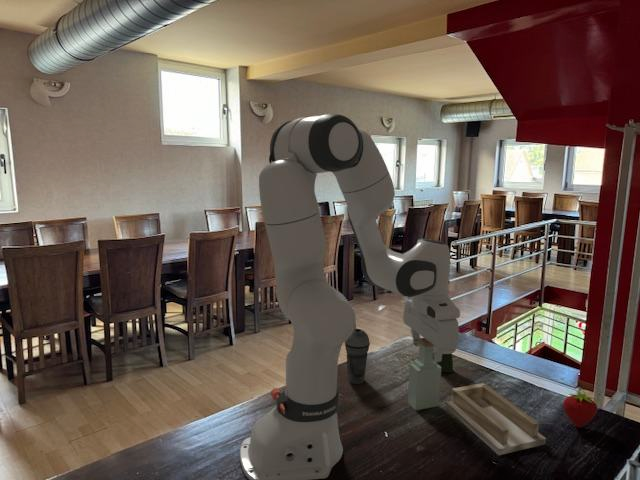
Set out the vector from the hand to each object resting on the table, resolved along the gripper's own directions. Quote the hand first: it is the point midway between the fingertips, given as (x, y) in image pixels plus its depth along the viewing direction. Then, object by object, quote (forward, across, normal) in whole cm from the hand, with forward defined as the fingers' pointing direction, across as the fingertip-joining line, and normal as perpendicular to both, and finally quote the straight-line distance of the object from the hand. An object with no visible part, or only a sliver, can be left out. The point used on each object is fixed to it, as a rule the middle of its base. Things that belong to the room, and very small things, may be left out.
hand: (426, 352), depth 114 cm
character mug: (+15, -15, +16) cm, 26 cm away
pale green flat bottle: (+14, 0, 0) cm, 15 cm away
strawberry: (+15, +20, +31) cm, 40 cm away
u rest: (+14, +13, +11) cm, 23 cm away
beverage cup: (+15, -17, -12) cm, 26 cm away
